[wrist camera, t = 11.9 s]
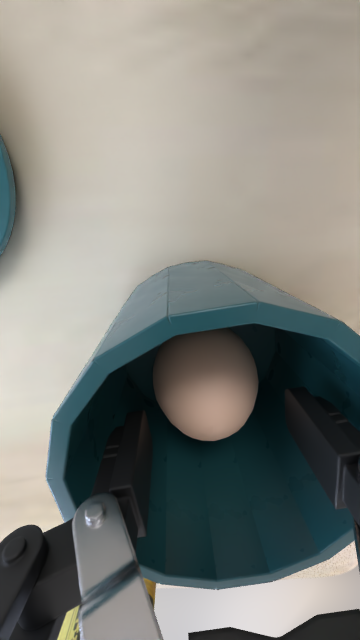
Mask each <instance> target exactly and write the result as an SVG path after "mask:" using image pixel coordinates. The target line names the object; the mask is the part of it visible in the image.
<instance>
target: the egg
mask: <svg viewBox="0 0 360 640" xmlns="http://www.w3.org/2000/svg"><path fill="white" fill-rule="evenodd" d="M258 383H259V380H258V374H257V368H256V365H255V361H254V358H253V356H252V354H251V352H250V350H249V348H248V347H247V346H246V344H245V343H244V342H243V340H242V339H241V338H240V337H239V336H238V335H237V334H235V333H234V332H233V331H232V330H230V329H229V328H227V327H226V328H220V329H214V330H207V331H201V332H194V333H188V334H182V335H176V336H174V337H172V338H170V339H169V340H167V341H165V342H163V343H162V345H161V346H160V348H159V350H158V353H157V355H156V358H155V362H154V365H153V387H154V392H155V396H156V400H157V402H158V404H159V406H160V408H161V409H162V411H163V412H164V414H165V415H166V416H167V418H168V419H169V421H170V422H171V423H172V424H173V425H174V426H175V427H176V428H178V429H179V430H180V431H181V432H182V433H184V434H185V435H187V436H189V437H191V438H194V439H198V440H203V441H216V440H220V439H223V438H226V437H229V436H230V435H232V434H234V433H235V432H237V431H238V430H239V429H240V428H241V427H242V426H243V425H244V424H245V422H246V421H247V419H248V417H249V416H250V414H251V412H252V410H253V408H254V404H255V400H256V397H257V393H258Z"/></svg>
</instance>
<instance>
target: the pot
mask: <svg viewBox="0 0 360 640" xmlns="http://www.w3.org/2000/svg"><path fill="white" fill-rule="evenodd" d="M226 327H227V328H229V329H230V330H232V331H233V332H234V333H235V334H237V335H238V336H239V337H240V338H241V339H242V340H243V342H244V343H245V344H246V346H247V347H248V348H249V350H250V352H251V354H252V356H253V358H254V361H255V365H256V368H257V374H258V380H259V383H258V393H257V397H256V400H255V404H254V408H253V410H252V412H251V414H250V416H249V417H248V419H247V421H246V422H245V424H244V425H243V426H242V427H241V428H240V429H239V430H238V431H237V432H235V433H234V434H232V435H230V436H229V437H226V438H223V439H220V440H216V441H203V440H198V439H194V438H191V437H189V436H187V435H185V434H184V433H182V432H181V431H180V430H179V429H178V428H176V427H175V426H174V425H173V424H172V423H171V422H170V421H169V419H168V418H167V416H166V415H165V414H164V412H163V411H162V409H161V408H160V406H159V404H158V402H157V400H156V396H155V392H154V387H153V365H154V362H155V358H156V355H157V353H158V350H159V348H160V346H161V345H162V343H163V342H165V341H167V340H169V339H170V338H172V337H174V336H176V335H182V334H188V333H194V332H201V331H207V330H214V329H220V328H226ZM301 386H304V387H306V388H307V390H308V391H309V392H310V393H311V394H312V395H313V396H314V397H318V396H320V397H322V398H324V399H326V400H327V401H329V402H331V403H332V404H333V405H334V406H335V407H336V408H337V409H338V410H339V411H340V412H341V414H343V415H344V416H345V417H346V418H347V419H348V421H349V422H350V423H351V424H352V425H353V426H354V427H355V428H356V429H357V430H358V431H359V432H360V336H359V335H358V334H357V333H356V332H354V331H353V330H352V329H351V328H350V327H348V326H347V325H346V324H345V323H343V322H342V321H340V320H338V319H336V318H334V317H332V316H330V315H329V314H327V313H325V312H323V311H321V310H319V309H317V308H315V307H313V306H311V305H309V304H307V303H305V302H303V301H301V300H300V299H298V298H296V297H294V296H292V295H290V294H288V293H286V292H284V291H282V290H280V289H278V288H276V287H274V286H272V285H271V284H269V283H267V282H265V281H263V280H261V279H259V278H257V277H255V276H253V275H251V274H249V273H247V272H245V271H243V270H241V269H238V268H234V267H230V266H227V265H224V264H219V263H214V262H210V261H200V262H188V263H183V264H179V265H175V266H170V267H167V268H166V269H164V270H162V271H160V272H158V273H156V274H155V275H153V276H151V277H150V278H149V279H147V280H146V281H145V282H143V283H141V284H140V285H138V286H137V287H136V289H135V290H134V292H133V293H132V294H131V296H130V297H129V299H128V300H127V302H126V303H125V305H124V306H123V307H122V309H121V310H120V312H119V313H118V315H117V316H116V318H115V320H114V321H113V323H112V324H111V326H110V327H109V329H108V331H107V332H106V334H105V335H104V337H103V338H102V340H101V342H100V343H99V345H98V346H97V348H96V349H95V351H94V353H93V354H92V356H91V357H90V359H89V360H88V362H87V364H86V365H85V367H84V368H83V370H82V371H81V373H80V375H79V376H78V378H77V379H76V381H75V382H74V384H73V386H72V387H71V389H70V390H69V392H68V394H67V395H66V397H65V398H64V400H63V401H62V403H61V405H60V406H59V408H58V409H57V411H56V412H55V414H54V416H53V419H52V422H51V431H50V441H49V450H48V459H47V468H46V481H47V483H48V486H49V488H50V490H51V492H52V495H53V497H54V499H55V502H56V504H57V506H58V508H59V511H60V513H61V515H62V518H63V520H64V522H67V521H69V520H70V519H72V518H73V517H74V515H75V513H76V511H77V509H78V508H79V506H80V505H81V504H82V503H83V502H84V501H85V500H86V499H88V498H89V497H90V496H91V494H92V490H93V487H94V484H95V480H96V477H97V474H98V470H99V467H100V463H101V460H102V459H103V453H104V450H105V447H106V443H107V440H108V437H109V435H110V434H111V433H112V431H113V430H114V429H115V428H116V427H118V426H124V423H125V419H126V415H127V413H128V412H135V411H141V410H145V412H146V416H147V420H148V424H149V428H150V433H151V437H152V444H153V457H152V470H151V483H150V496H149V509H148V522H147V535H146V536H145V537H138V538H137V546H136V558H137V561H138V564H139V567H140V570H141V573H142V576H143V578H145V579H148V580H150V581H153V582H156V583H160V584H165V585H174V586H184V587H194V588H204V589H214V590H215V589H217V590H219V589H225V588H232V587H240V586H247V585H254V584H261V583H268V582H273V581H276V580H279V579H281V578H284V577H286V576H289V575H291V574H294V573H296V572H299V571H301V570H304V569H306V568H309V567H311V566H314V565H316V564H319V563H321V562H324V561H326V560H329V559H330V558H332V557H333V556H334V555H336V554H337V553H338V552H340V551H341V550H342V549H344V548H345V547H346V546H348V545H349V544H350V543H352V542H353V541H354V540H355V539H354V533H353V526H352V519H353V516H352V514H351V513H350V511H349V510H348V508H343V509H335V508H334V506H333V504H332V503H331V501H330V499H329V498H328V496H327V494H326V493H325V491H324V489H323V488H322V486H321V484H320V483H319V481H318V479H317V478H316V476H315V474H314V473H313V471H312V469H311V468H310V466H309V464H308V463H307V461H306V459H305V458H304V456H303V454H302V453H301V451H300V449H299V448H298V446H297V444H296V443H295V441H294V439H293V438H292V436H291V434H290V432H289V430H288V428H287V425H286V420H285V389H288V388H294V387H301Z"/></svg>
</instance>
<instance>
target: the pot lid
mask: <svg viewBox="0 0 360 640" xmlns="http://www.w3.org/2000/svg"><path fill="white" fill-rule="evenodd" d="M15 210H16V189H15V182H14V176H13V170H12V167H11V163H10V159H9V155H8V153H7V150H6V147H5V145H4V142H3V139H2V137H1V135H0V256H1V254H2V252H3V251H4V249H5V248H6V245H7V243H8V240H9V238H10V236H11V232H12V228H13V224H14V219H15Z"/></svg>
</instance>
